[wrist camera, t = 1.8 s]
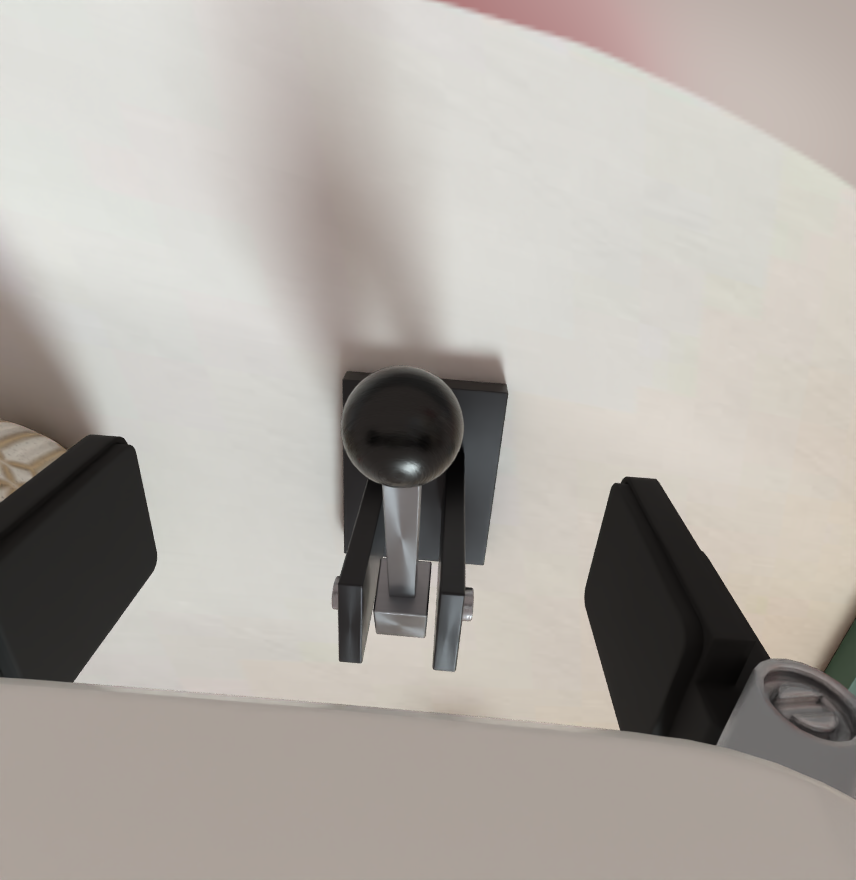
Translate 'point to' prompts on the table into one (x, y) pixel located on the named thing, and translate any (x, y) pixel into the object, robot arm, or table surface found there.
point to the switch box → (845, 661)
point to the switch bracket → (425, 525)
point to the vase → (23, 455)
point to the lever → (402, 477)
